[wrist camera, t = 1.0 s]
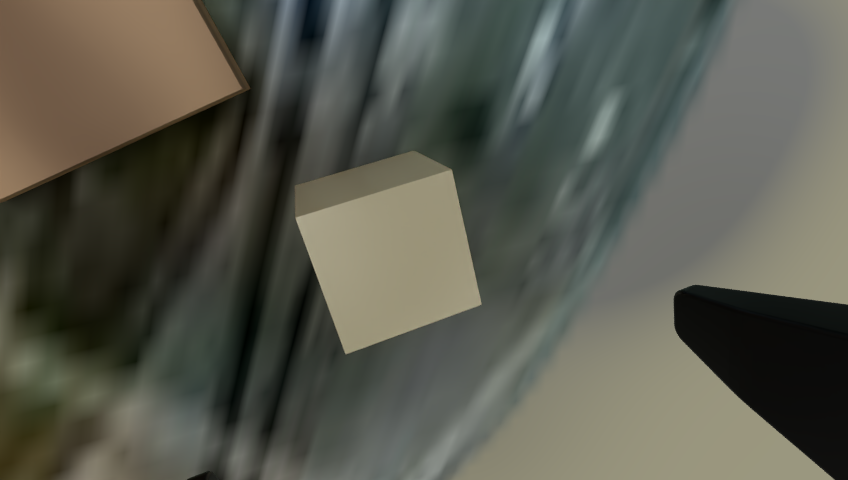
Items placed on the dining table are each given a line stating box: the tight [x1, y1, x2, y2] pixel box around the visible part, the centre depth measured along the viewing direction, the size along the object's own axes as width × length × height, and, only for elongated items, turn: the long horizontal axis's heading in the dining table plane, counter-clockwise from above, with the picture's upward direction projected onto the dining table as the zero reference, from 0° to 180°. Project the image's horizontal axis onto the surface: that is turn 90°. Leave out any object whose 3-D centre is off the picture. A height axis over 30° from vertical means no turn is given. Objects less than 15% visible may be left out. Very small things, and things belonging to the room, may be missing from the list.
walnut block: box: [0, 0, 251, 203], centre depth 13 cm, size 9×9×4 cm
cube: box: [295, 150, 482, 354], centre depth 17 cm, size 5×5×5 cm
